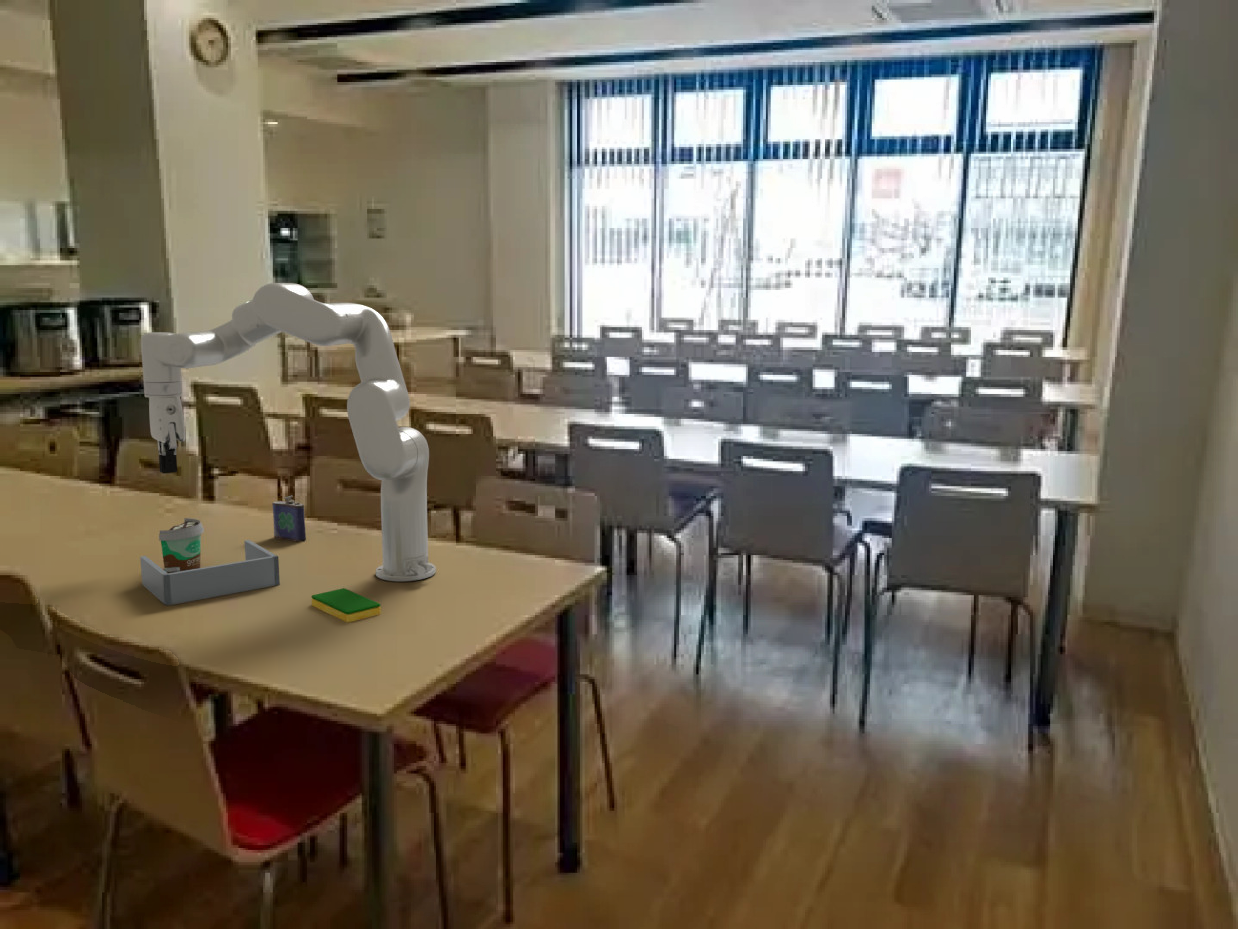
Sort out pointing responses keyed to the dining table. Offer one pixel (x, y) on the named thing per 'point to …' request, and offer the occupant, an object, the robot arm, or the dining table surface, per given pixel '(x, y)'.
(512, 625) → the dining table surface
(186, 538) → the food container
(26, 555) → the dining table surface
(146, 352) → the robot arm
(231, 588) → the grey u-shaped frame
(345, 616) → the dish sponge
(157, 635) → the dining table surface
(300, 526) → the flask
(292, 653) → the dining table surface
